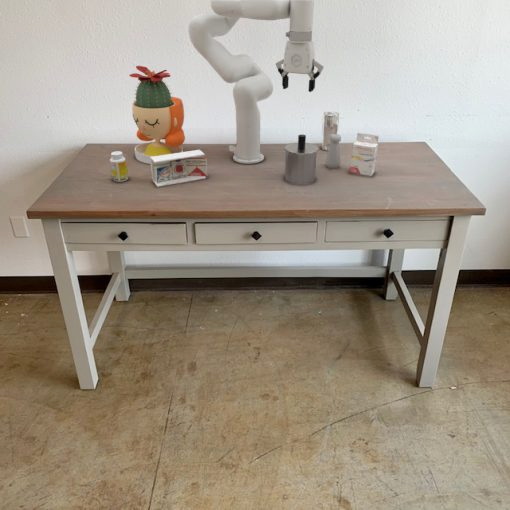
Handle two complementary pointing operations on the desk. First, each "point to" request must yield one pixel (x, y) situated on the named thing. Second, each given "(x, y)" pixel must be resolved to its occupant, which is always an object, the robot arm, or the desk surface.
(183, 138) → the potted cactus
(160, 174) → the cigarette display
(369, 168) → the ink cartridge box
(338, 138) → the salt shaker
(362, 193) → the desk surface
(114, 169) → the supplement bottle
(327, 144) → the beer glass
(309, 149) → the canister lid
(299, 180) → the canister
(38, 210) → the desk surface
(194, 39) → the robot arm
